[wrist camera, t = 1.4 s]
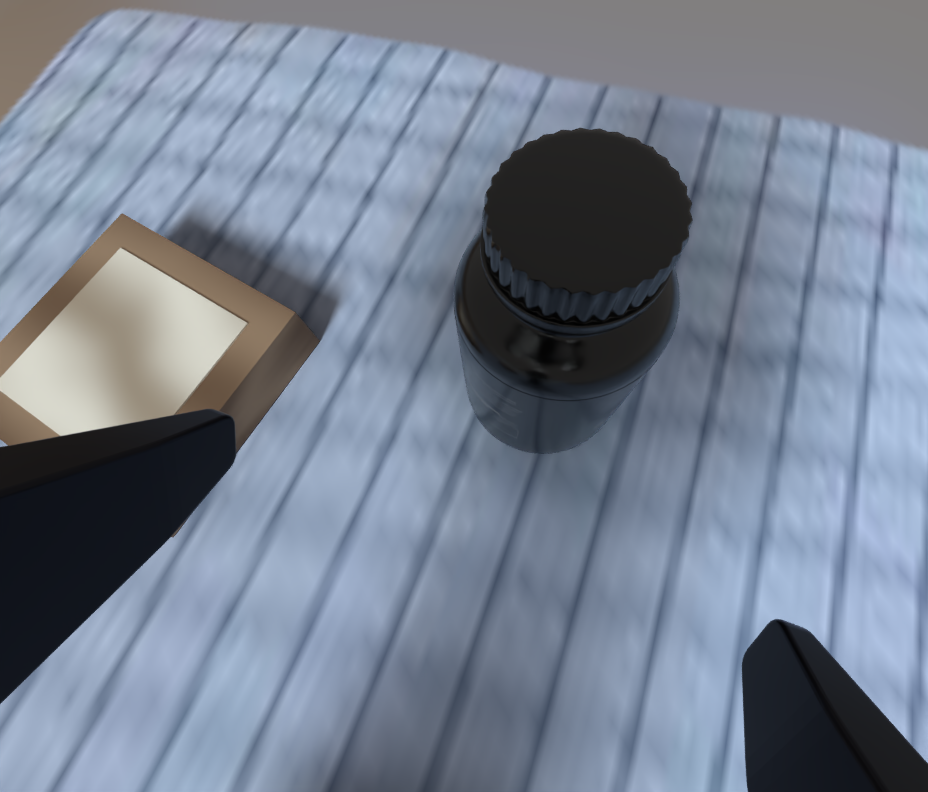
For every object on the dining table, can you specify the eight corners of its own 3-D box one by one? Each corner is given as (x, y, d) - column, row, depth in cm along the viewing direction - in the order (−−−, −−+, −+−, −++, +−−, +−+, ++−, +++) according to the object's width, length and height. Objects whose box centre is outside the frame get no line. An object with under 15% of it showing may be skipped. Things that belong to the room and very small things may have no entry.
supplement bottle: (630, 445, 21) (788, 320, 10) (477, 466, 21) (455, 367, 10) (596, 308, 23) (693, 74, 12) (458, 328, 23) (422, 117, 12)
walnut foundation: (173, 537, 21) (120, 534, 18) (14, 416, 23) (-56, 397, 20) (320, 341, 24) (294, 311, 21) (163, 250, 26) (120, 211, 23)
